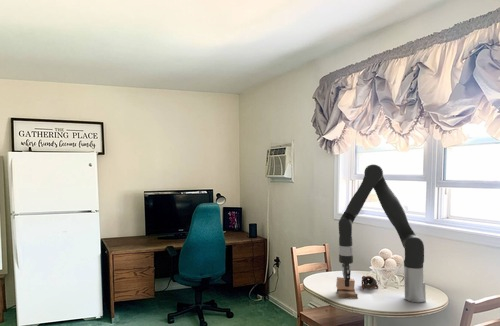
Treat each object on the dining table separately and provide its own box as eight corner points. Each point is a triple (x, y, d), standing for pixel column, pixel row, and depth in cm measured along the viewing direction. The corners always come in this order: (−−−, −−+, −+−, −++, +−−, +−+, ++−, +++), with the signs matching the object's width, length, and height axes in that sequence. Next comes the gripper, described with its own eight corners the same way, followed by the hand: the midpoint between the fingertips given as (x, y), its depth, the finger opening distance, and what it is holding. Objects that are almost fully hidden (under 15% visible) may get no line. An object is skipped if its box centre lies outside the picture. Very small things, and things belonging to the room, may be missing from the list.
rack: (354, 292, 199) (354, 288, 199) (357, 298, 189) (357, 294, 189) (336, 291, 200) (336, 288, 200) (339, 298, 190) (339, 294, 190)
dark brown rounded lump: (383, 290, 201) (379, 280, 198) (369, 299, 199) (366, 289, 196) (369, 279, 212) (365, 269, 209) (356, 288, 210) (353, 277, 207)
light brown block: (352, 288, 196) (353, 279, 196) (354, 290, 192) (354, 281, 192) (336, 286, 197) (336, 277, 197) (337, 288, 193) (337, 279, 193)
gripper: (355, 257, 187) (355, 289, 187) (350, 250, 201) (351, 281, 201) (340, 256, 188) (341, 289, 188) (337, 250, 202) (337, 281, 202)
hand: (346, 285), depth 194 cm, fingers closed on light brown block, 3 cm apart
